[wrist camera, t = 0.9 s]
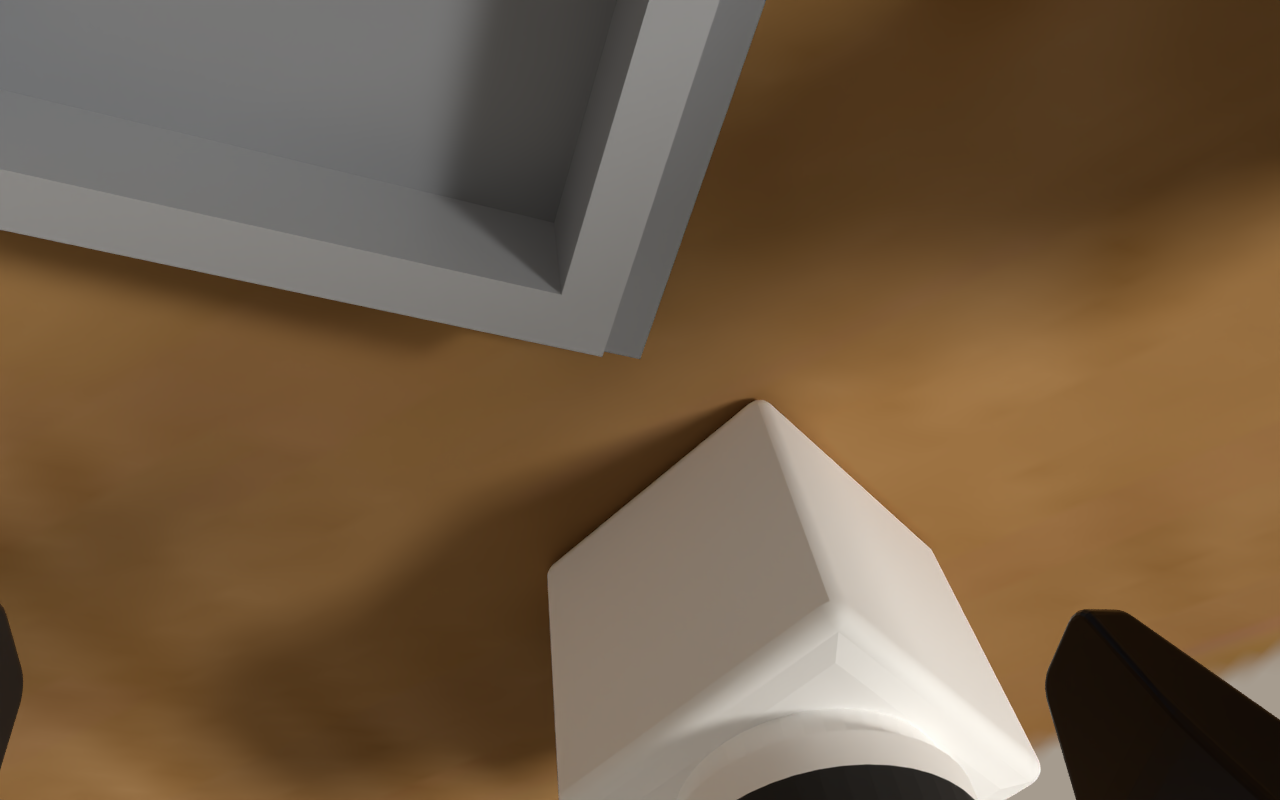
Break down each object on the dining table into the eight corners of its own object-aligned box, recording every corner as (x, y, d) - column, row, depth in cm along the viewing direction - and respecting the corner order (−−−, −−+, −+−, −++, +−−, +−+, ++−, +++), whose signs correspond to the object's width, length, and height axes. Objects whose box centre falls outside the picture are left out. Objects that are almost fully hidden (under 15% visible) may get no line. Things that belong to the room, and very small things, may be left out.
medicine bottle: (539, 567, 27) (563, 1091, 16) (758, 387, 24) (938, 864, 14) (726, 696, 30) (841, 1198, 20) (934, 547, 28) (1181, 1027, 18)
